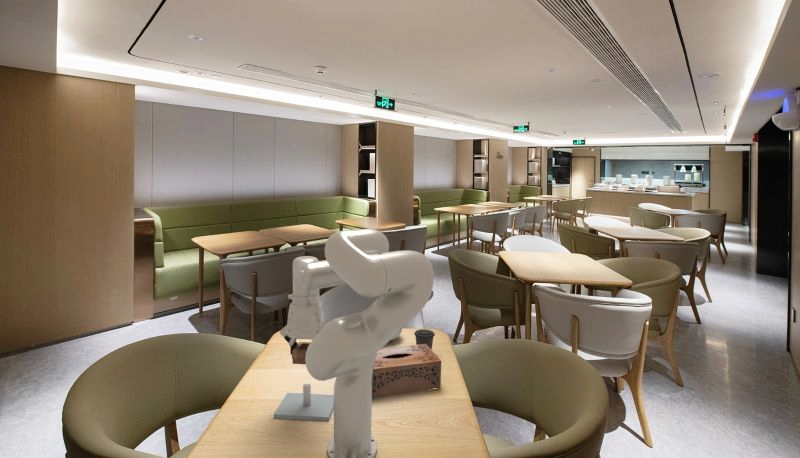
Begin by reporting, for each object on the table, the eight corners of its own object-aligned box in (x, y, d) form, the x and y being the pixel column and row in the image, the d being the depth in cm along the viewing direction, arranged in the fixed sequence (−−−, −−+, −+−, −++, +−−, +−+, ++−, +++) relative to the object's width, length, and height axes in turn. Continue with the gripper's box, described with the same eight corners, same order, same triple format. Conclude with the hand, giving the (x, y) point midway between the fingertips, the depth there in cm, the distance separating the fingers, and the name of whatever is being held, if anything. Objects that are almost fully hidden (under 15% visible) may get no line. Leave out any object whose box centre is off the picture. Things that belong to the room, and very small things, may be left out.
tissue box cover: (424, 369, 152) (425, 343, 150) (440, 389, 138) (441, 360, 137) (355, 378, 144) (355, 351, 143) (364, 400, 130) (365, 370, 129)
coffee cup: (433, 360, 159) (434, 335, 157) (412, 358, 160) (413, 334, 159) (434, 352, 167) (435, 328, 165) (414, 350, 168) (415, 326, 167)
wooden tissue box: (314, 364, 120) (314, 351, 119) (292, 363, 120) (292, 350, 120) (319, 355, 126) (319, 342, 126) (299, 354, 127) (299, 341, 126)
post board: (328, 421, 118) (328, 397, 117) (273, 418, 119) (273, 394, 118) (337, 398, 130) (337, 377, 129) (287, 396, 131) (287, 374, 130)
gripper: (272, 301, 117) (273, 361, 120) (332, 304, 116) (332, 364, 119) (281, 294, 125) (282, 350, 127) (338, 296, 124) (337, 353, 126)
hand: (306, 357), depth 123 cm, fingers closed on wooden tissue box, 6 cm apart
